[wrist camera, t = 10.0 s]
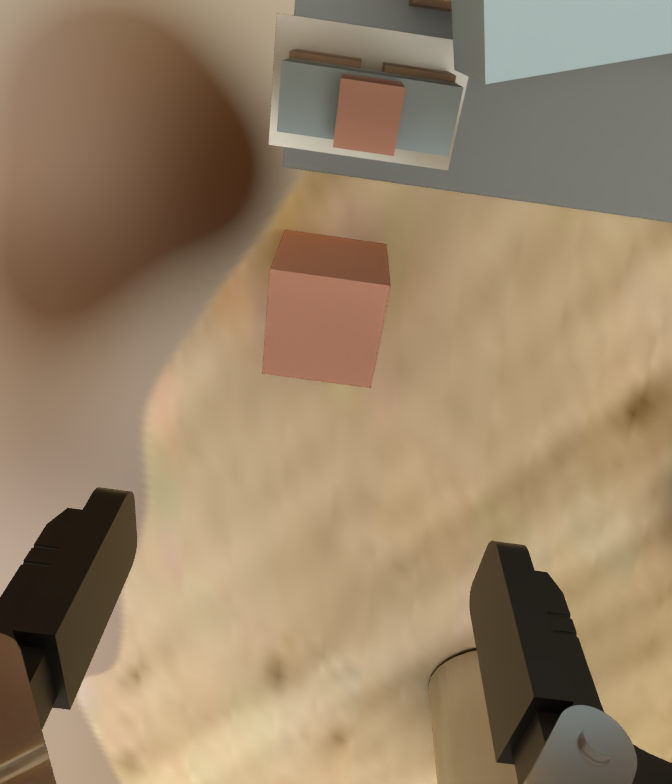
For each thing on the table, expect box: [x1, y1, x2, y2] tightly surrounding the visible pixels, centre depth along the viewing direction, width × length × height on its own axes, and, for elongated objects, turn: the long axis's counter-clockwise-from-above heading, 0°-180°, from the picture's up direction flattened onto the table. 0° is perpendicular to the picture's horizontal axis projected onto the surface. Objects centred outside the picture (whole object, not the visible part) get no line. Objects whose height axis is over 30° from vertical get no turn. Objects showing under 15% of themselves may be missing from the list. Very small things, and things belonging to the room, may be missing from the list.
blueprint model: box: [269, 13, 468, 170], centre depth 19 cm, size 4×7×7 cm, turn 83°
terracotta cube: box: [262, 230, 390, 388], centre depth 25 cm, size 4×4×5 cm
